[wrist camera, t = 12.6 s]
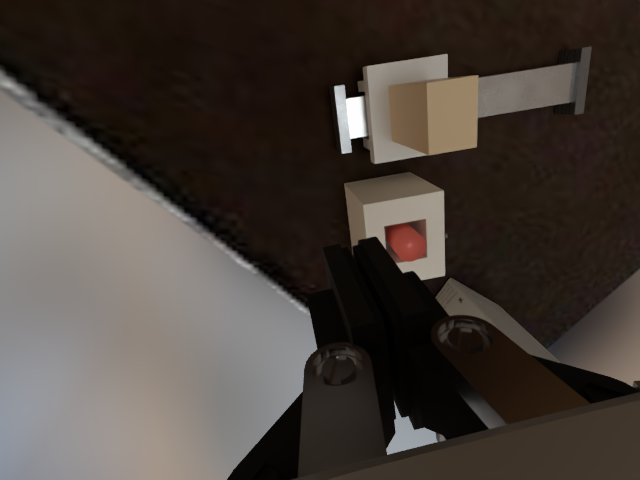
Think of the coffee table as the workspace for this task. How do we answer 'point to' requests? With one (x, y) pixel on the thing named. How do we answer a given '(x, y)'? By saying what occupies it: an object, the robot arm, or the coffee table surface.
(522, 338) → the supplement box
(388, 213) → the white cube box
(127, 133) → the coffee table surface
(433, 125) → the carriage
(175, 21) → the coffee table surface
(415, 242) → the button
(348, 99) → the rail
